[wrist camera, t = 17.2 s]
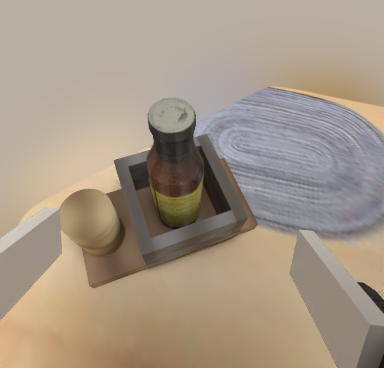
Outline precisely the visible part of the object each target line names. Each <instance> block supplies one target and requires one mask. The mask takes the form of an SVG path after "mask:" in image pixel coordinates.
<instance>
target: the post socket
mask: <svg viewBox="0 0 384 368" xmlns="http://www.w3.org/2000/svg"><path fill="white" fill-rule="evenodd" d="M193 139H194V143H195V145H196V147H197V149H198V151H199V153H200V154H201V156H202V159H203V162H204V178H203V188H202V199H201V210H200V213H199V215H198V217H197V219H196V221H195V222H194V223H193V224H190V225H187V226H184V227H182V228H179V229H173V228H169V227H167V226H166V225H165V224H163V223H162V221H161V219H160V218H159V216H158V214H157V210H156V206H155V202H154V198H153V194H152V190H151V186H150V182H149V173H148V169H147V156H148V154H149V152H150V150H148V151H145V152H141V153H138V154H134V155H131V156H127V157H124V158H120V159H116V160H114V163H115V167H116V170H117V174H118V177H119V180H120V184H121V187H122V189H120V190H117V191H114V192H110V193H107V194H105V193H103V192H101V191H99V190H95V189H84V190H80V191H77V192H75V193H73V194H72V195H70V196H69V197H68V198H67V199H66V200H65V201H64V202H63V203H62V205H61V207H60V209H59V213H60V228H61V230H62V231H63V232H64V233H65V234H66V235H67V236H69V237H70V238H71V239H72V240H73V241H74V242H76V243H77V244H78V245H79V246H80V247H81V248H82V250H83V255H84V260H85V265H86V270H87V275H88V280H89V285H90V286H91V287H93V288H95V287H98V286H100V285H103V284H106V283H109V282H111V281H114V280H117V279H119V278H122V277H125V276H128V275H130V274H133V273H136V272H138V271H141V270H144V269H146V268H150V267H153V266H156V265H158V264H161V263H164V262H167V261H169V260H172V259H175V258H177V257H180V256H183V255H185V254H188V253H191V252H194V251H196V250H199V249H202V248H204V247H207V246H210V245H212V244H215V243H218V242H221V241H223V240H226V239H229V238H231V237H234V236H237V235H238V234H241V233H244V232H246V231H249V230H252V229H255V227H256V226H257V225H258V223H257V221H256V219H255V217H254V215H253V213H252V211H251V209H250V208H249V206H248V204H247V202H246V200H245V198H244V196H243V194H242V192H241V190H240V188H239V186H238V184H237V182H236V180H235V178H234V176H233V174H232V172H231V170H230V168H229V166H228V164H227V163H226V161H225V159H224V158H222V159H219V157H218V155H217V153H216V151H215V149H214V147H213V145H212V143H211V141H210V139H209V137H208V135H207V134H205V135H202V136H198V137H194V138H193Z"/></svg>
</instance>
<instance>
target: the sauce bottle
mask: <svg viewBox="0 0 384 368" xmlns="http://www.w3.org/2000/svg"><path fill="white" fill-rule="evenodd" d="M148 124H149V129H150V132H151V133H152V135H153V139H154V146H153V147H152V149H151V150H150V152H149V154H148V156H147V169H148V173H149V182H150V186H151V190H152V194H153V198H154V202H155V206H156V210H157V214H158V216H159V218H160V219H161V221H162V223H163V224H165V225H166V226H167V227H169V228H173V229H179V228H182V227H184V226H187V225H190V224H193V223H194V222H195V221H196V219H197V217H198V215H199V213H200V210H201V199H202V188H203V178H204V162H203V159H202V156H201V154H200V153H199V151H198V149H197V147H196V145H195V143H194V139H193V134H194V130H195V126H196V114H195V111H194V109H193V107H192V106H191V105H190V104H189V103H188V102H186V101H185V100H181V99H178V98H166V99H162V100H160V101H158V102H156V103H155V104H153V105H152V107H151V108H150V110H149V112H148Z"/></svg>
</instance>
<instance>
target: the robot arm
mask: <svg viewBox="0 0 384 368" xmlns="http://www.w3.org/2000/svg"><path fill="white" fill-rule="evenodd" d="M61 254H62V244H61V229H60V213H59V209H56V208H44V209H42V210H41V211H40V212H38V213H37V214H35V215H34V216H32V217H31V218H29V219H28V220H26V221H25V222H23V223H22V224H21V225H19V226H18V227H16V228H15V229H13V230H12V231H10V232H9V233H8V234H6V235H4V236H3V237H2V238H0V320H1V319H2V318H3V317H4V316H5V315H6V314H7V313H8V312H9V311H10V309H11V308H12V307H13V306H14V305H15V304H16V303H17V302H18V301H19V300H20V299H21V297H22V296H23V295H24V294H25V293H26V292H27V291H28V290H29V289H30V288H31V287H32V285H33V284H34V283H35V282H36V281H37V280H38V279H39V278H40V277H41V276H42V275H43V273H44V272H45V271H46V270H47V269H48V268H49V267H50V266H51V265H52V264H53V263H54V261H55V260H56V259H57V258H58V257H59V256H60V255H61ZM290 275H291V277H292V279H293V281H294V283H295V285H296V287H297V289H298V291H299V293H300V295H301V296H302V298H303V300H304V302H305V304H306V306H307V308H308V310H309V312H310V314H311V316H312V318H313V320H314V322H315V324H316V326H317V328H318V330H319V332H320V334H321V336H322V338H323V340H324V342H325V344H326V346H327V348H328V350H329V352H330V354H331V356H332V358H333V360H334V362H335V364H336V366H337V368H384V300H383V299H382V298H381V296H380V295H379V294H378V293H377V292H376V291H375V290H373V289H372V288H370V287H369V286H368V285H366V284H365V283H361V282H356V281H355V280H354V278H353V277H352V276H351V275H350V274H349V272H348V271H347V270H346V269H345V268H344V267H343V265H342V264H341V263H340V262H339V261H338V260H337V258H336V257H335V256H334V255H333V254H332V253H331V251H330V250H329V249H328V248H327V247H326V245H325V244H324V243H323V242H322V241H321V240H320V238H319V237H318V236H317V235H316V234H315V233H314V231H308V230H299V232H298V237H297V242H296V247H295V251H294V256H293V261H292V265H291V270H290Z"/></svg>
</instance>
